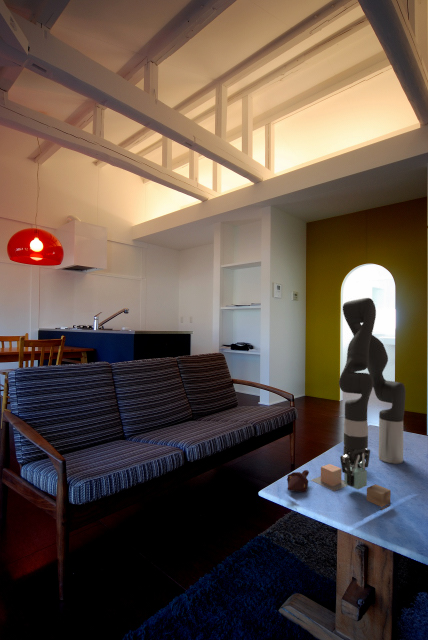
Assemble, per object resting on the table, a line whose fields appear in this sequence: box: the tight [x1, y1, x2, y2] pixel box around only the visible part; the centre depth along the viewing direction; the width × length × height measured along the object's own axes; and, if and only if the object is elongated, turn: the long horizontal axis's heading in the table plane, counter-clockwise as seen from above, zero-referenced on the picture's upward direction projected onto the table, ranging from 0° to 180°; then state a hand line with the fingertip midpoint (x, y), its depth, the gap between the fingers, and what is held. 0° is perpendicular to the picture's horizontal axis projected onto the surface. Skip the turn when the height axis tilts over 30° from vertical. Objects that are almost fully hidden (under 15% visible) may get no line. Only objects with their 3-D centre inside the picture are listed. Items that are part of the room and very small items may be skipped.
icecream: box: [286, 469, 310, 493], centre depth 119 cm, size 7×7×15 cm
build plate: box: [310, 475, 348, 492], centre depth 125 cm, size 10×10×1 cm
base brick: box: [320, 463, 343, 486], centre depth 125 cm, size 5×5×5 cm
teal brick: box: [344, 467, 368, 490], centre depth 118 cm, size 5×5×5 cm
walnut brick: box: [366, 483, 392, 511], centre depth 112 cm, size 5×5×5 cm
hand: (355, 483), depth 118 cm, fingers closed on teal brick, 5 cm apart
